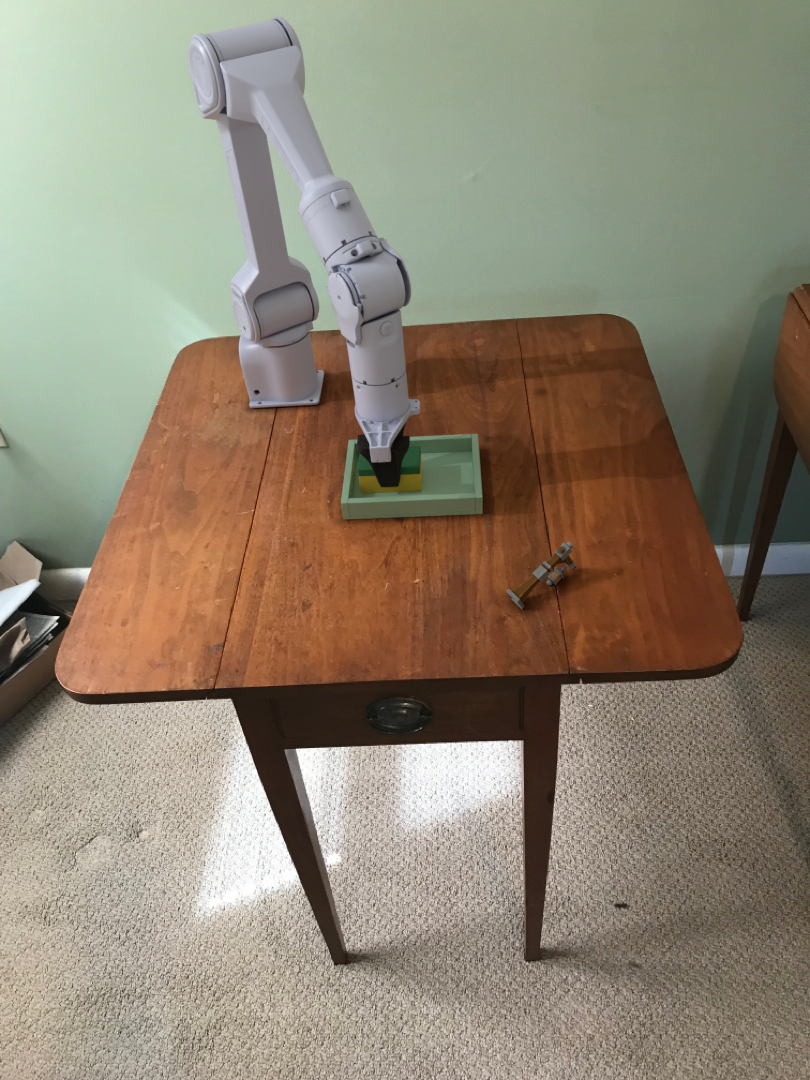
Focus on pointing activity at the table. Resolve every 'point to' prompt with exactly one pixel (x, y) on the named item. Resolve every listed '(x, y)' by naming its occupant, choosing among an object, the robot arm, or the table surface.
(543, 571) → the wooden post with brackets
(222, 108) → the robot arm
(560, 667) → the table surface
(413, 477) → the sponge
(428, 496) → the pan
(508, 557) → the table surface
